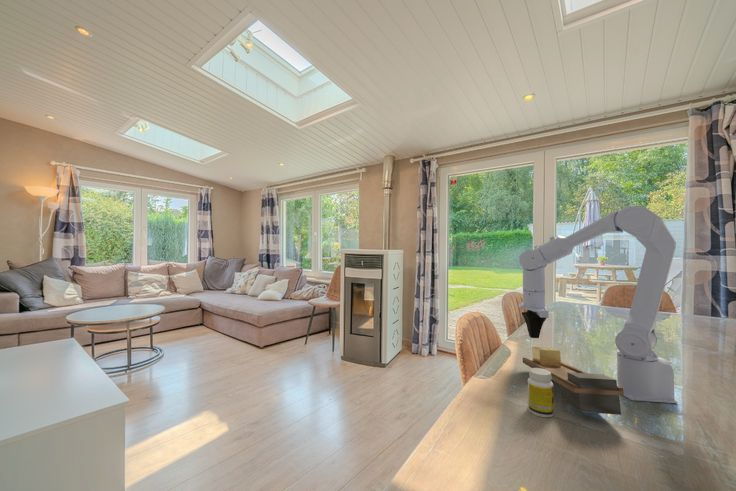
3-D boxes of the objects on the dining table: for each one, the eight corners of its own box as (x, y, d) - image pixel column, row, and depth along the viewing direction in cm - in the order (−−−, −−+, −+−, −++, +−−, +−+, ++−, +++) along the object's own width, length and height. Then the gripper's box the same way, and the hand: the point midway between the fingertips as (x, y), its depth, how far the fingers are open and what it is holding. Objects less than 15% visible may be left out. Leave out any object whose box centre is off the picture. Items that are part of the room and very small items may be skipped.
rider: (552, 362, 83) (551, 347, 83) (561, 367, 78) (559, 350, 78) (532, 361, 83) (531, 346, 84) (540, 365, 78) (539, 349, 79)
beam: (556, 377, 84) (554, 353, 85) (626, 415, 57) (622, 380, 58) (523, 375, 85) (522, 352, 86) (576, 411, 58) (573, 377, 59)
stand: (584, 387, 75) (584, 371, 75) (605, 403, 67) (605, 385, 67) (526, 384, 77) (526, 368, 77) (540, 399, 69) (540, 381, 69)
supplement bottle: (557, 419, 60) (557, 376, 60) (532, 416, 61) (531, 374, 61) (548, 407, 65) (548, 367, 65) (524, 405, 66) (524, 366, 66)
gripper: (511, 287, 97) (511, 330, 96) (528, 293, 82) (529, 344, 82) (534, 288, 96) (535, 331, 95) (556, 294, 81) (557, 345, 81)
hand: (534, 337), depth 89 cm, fingers closed
